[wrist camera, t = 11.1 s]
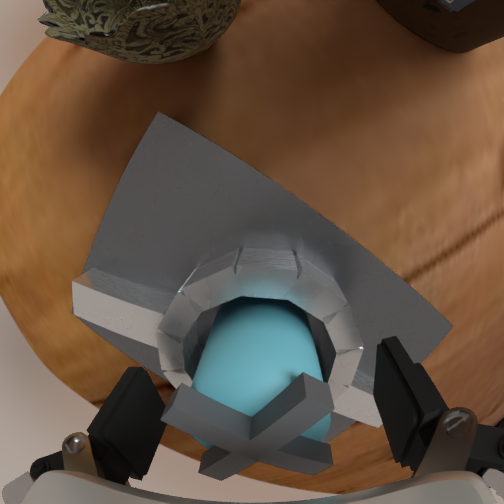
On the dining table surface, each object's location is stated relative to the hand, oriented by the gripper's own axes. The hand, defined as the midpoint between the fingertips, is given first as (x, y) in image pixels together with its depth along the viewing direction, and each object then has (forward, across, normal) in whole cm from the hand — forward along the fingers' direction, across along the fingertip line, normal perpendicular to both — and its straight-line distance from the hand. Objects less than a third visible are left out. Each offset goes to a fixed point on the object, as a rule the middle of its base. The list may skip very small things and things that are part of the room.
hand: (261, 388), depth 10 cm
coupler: (+4, 0, 0) cm, 4 cm away
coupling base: (+6, 0, 0) cm, 6 cm away
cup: (+6, +1, -16) cm, 17 cm away
